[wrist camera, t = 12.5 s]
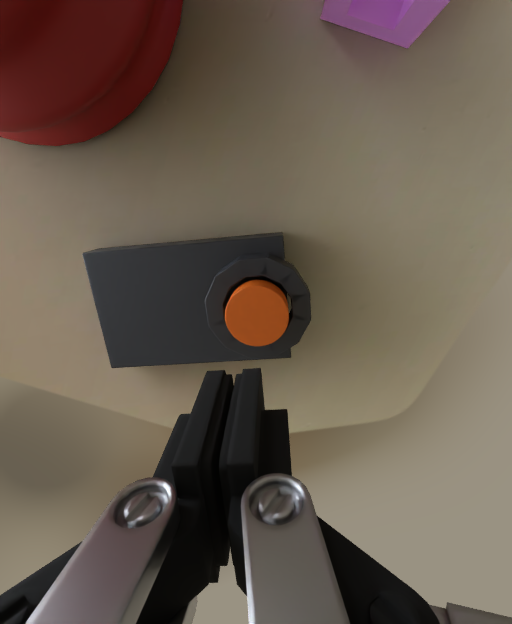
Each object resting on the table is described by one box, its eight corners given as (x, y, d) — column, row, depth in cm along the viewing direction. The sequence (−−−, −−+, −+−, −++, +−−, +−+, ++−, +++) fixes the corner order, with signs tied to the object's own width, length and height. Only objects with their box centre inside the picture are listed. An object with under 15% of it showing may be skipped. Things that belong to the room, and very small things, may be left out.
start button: (286, 276, 22) (286, 283, 20) (289, 334, 23) (290, 344, 21) (225, 281, 22) (220, 288, 21) (232, 337, 23) (228, 348, 22)
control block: (302, 230, 24) (307, 236, 21) (308, 344, 27) (313, 368, 23) (97, 248, 26) (66, 257, 22) (123, 355, 28) (99, 380, 25)
